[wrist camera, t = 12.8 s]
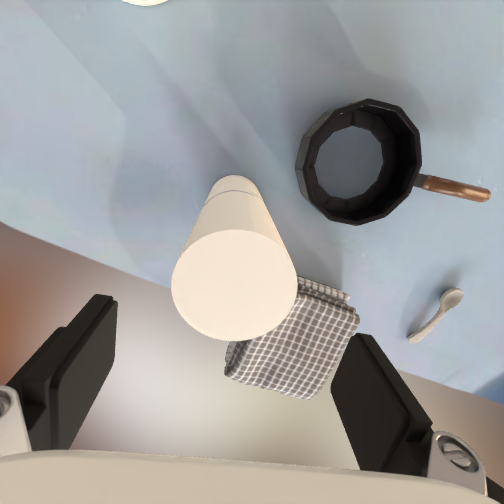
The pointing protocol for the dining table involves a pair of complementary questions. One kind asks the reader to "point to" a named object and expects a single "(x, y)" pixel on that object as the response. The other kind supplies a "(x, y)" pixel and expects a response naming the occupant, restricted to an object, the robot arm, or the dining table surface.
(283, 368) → the towel
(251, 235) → the cylindrical container
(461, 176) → the dining table surface
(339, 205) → the pan
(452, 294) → the spoon
